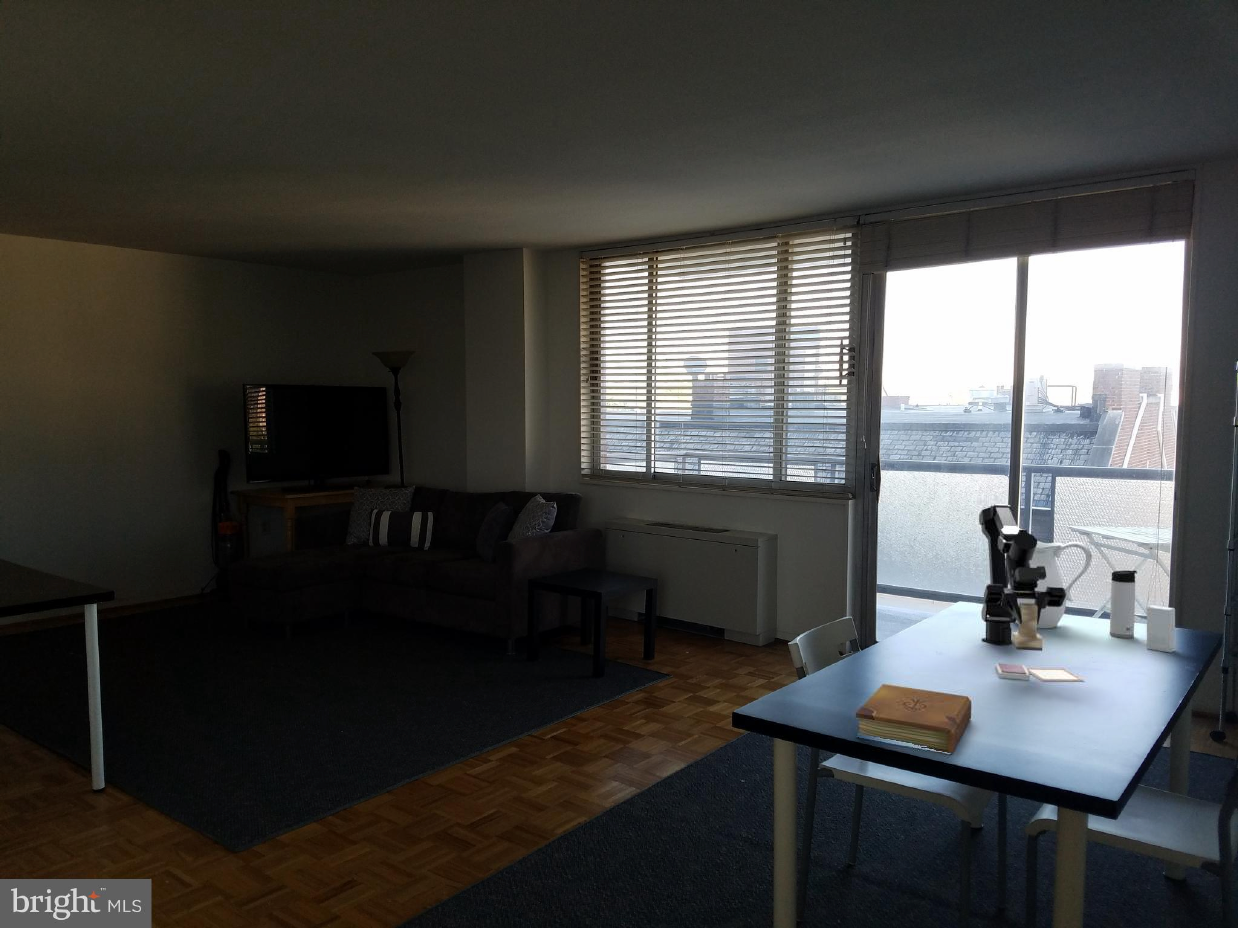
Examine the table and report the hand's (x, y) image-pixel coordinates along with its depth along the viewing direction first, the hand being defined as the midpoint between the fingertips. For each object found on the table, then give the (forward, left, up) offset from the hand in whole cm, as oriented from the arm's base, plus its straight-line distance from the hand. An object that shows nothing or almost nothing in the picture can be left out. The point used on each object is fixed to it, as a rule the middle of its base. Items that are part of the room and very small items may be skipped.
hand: (1029, 623), depth 219 cm
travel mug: (-18, +61, -14) cm, 65 cm away
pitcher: (-36, +51, -14) cm, 64 cm away
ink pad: (-3, -2, -13) cm, 14 cm away
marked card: (+2, +7, -13) cm, 15 cm away
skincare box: (-3, +56, -14) cm, 58 cm away
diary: (+17, -53, -14) cm, 58 cm away
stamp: (-1, +1, -6) cm, 7 cm away
